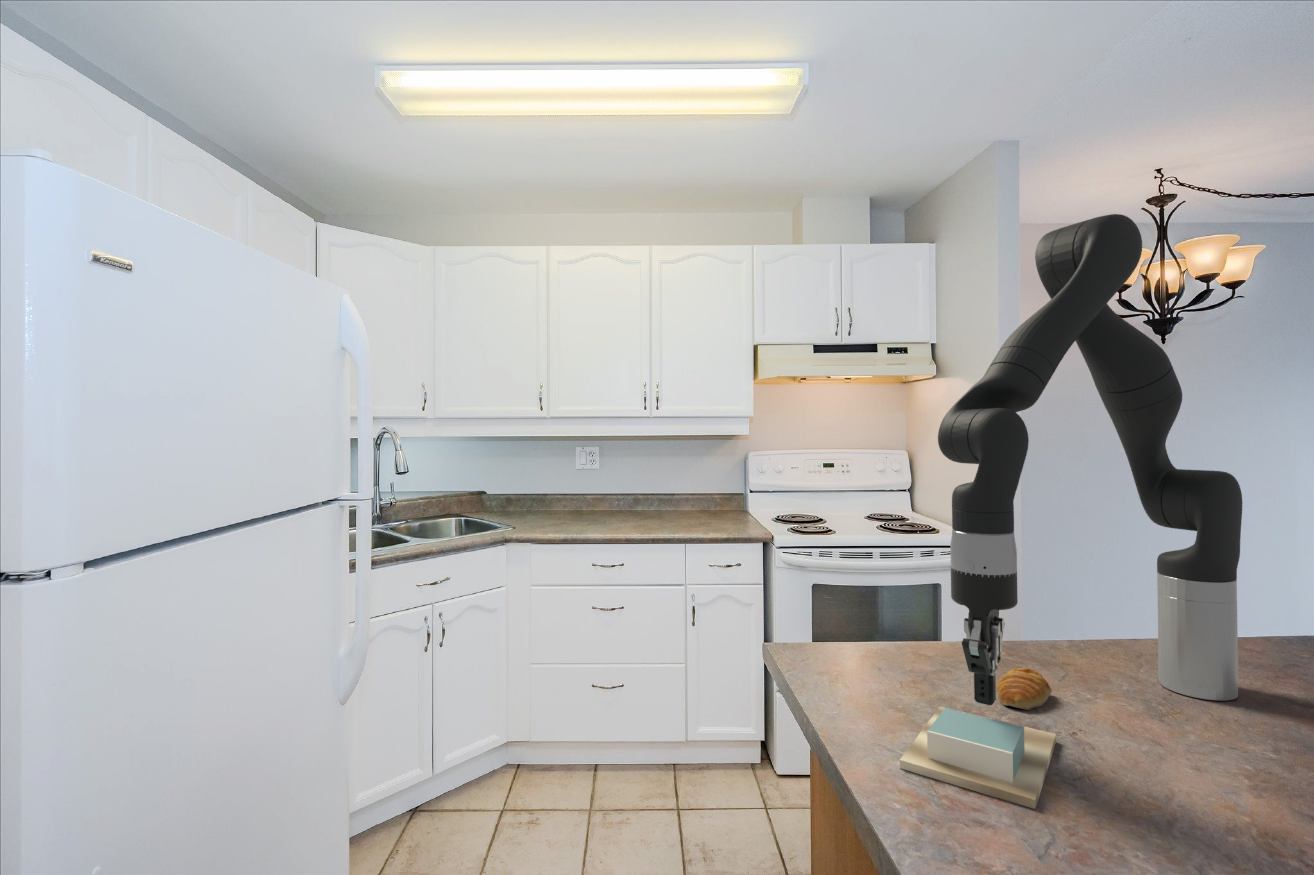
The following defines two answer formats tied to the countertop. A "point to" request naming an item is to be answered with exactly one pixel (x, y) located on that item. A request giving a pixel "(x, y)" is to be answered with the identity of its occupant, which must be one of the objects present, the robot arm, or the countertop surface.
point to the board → (1018, 791)
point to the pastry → (1023, 688)
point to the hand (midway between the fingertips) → (985, 701)
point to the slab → (976, 744)
